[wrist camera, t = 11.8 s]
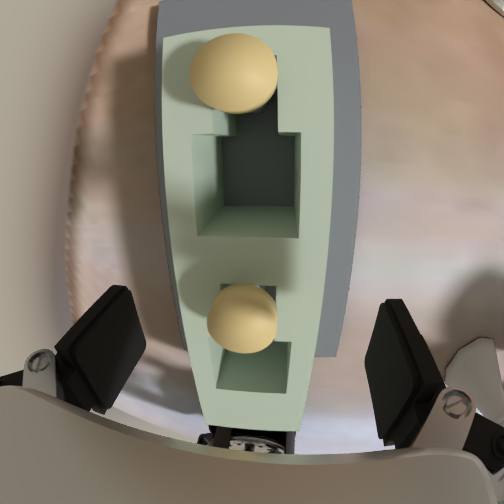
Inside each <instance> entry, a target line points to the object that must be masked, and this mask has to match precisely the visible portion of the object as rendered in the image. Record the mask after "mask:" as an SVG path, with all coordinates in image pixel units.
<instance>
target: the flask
mask: <svg viewBox="0 0 504 504" xmlns="http://www.w3.org/2000/svg"><path fill="white" fill-rule="evenodd" d="M445 384H446V385H448V386H449V387H450V386H459V387H462V388H464V389H466V390H468V391H469V392H470V393H471V394H472V395H473V397H474V399H475V402H476V407H477V408H478V409H479V411H480V412H481V413H482V414H483V416H484V417H485V418H487V419H489V420H491V421H493V422H495V423H497V424H499V425H501V426H503V427H504V390H503V387H502V382H501V376H500V370H499V365H498V360H497V354H496V349H495V344H494V340H493V339H487V338H479V339H477V340H475V341H474V342H472V343H470V344H468V345H467V346H465V347H463V348H461V349H460V350H459V351H458V352H457V354H456V355H455V357H454V358H453V360H452V361H451V363H450V364H449V366H448V367H447V368H446V376H445Z"/></svg>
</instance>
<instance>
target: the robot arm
mask: <svg viewBox="0 0 504 504" xmlns="http://www.w3.org/2000/svg"><path fill="white" fill-rule="evenodd" d="M485 1H486V2H487V3H488V4H490V5H491V6H492V7H493V8H494V9H495V10H496V11H498V12H499V13H500V14H501V15H502V16H504V0H485ZM54 347H55V349H56V351H57V354H56V355H55V354H54V353H53V352H52V351H51V350H49V349H40V350H38V351H35V352H34V353H32V354H31V355H30V356H29V357H28V358H27V360H26V361H25V365H24V370H21V371H18V372H15V373H12V374H8V375H5V376H2V377H0V504H504V427H503V426H501V425H499V424H497V423H495V422H493V421H491V420H489V419H487V418H485V417H483V416H482V415H480V414H478V413H476V402H475V399H474V397H473V395H472V394H471V393H470V392H469V391H468V390H466V389H464V388H462V387H459V386H450V387H447V388H446V386H445V384H444V381H443V379H442V377H441V374H440V372H439V370H438V368H437V365H436V363H435V361H434V359H433V357H432V354H431V352H430V350H429V348H428V346H427V344H426V342H425V340H424V338H423V336H422V335H421V334H420V333H419V331H418V329H417V327H416V325H415V323H414V321H413V319H412V317H411V315H410V313H409V311H408V309H407V307H406V306H405V304H404V302H403V300H402V299H387V300H386V301H385V303H381V305H380V307H379V311H378V315H377V319H376V322H375V326H374V330H373V333H372V337H371V340H370V343H369V346H368V350H367V353H366V356H365V369H366V374H367V379H368V383H369V388H370V393H371V398H372V403H373V409H374V414H375V420H376V426H377V432H378V437H379V439H383V443H384V446H390V445H395V449H393V450H382V451H374V452H363V453H349V454H323V455H295V454H273V453H260V452H249V451H240V450H232V449H225V448H218V447H212V446H206V445H201V444H196V443H191V442H186V441H181V440H176V439H173V438H169V437H165V436H161V435H157V434H153V433H149V432H146V431H143V430H139V429H136V428H133V427H130V426H127V425H123V424H120V423H118V422H115V421H112V420H109V419H106V418H104V417H101V416H99V415H96V414H93V413H91V412H89V411H90V410H91V408H92V409H93V411H95V412H98V413H101V414H103V415H104V414H105V412H106V410H107V409H110V408H111V407H112V405H113V403H114V402H115V400H116V398H117V396H118V395H119V393H120V391H121V390H122V388H123V386H124V384H125V383H126V381H127V379H128V378H129V376H130V374H131V372H132V371H133V369H134V367H135V366H136V364H137V362H138V361H139V359H140V357H141V356H142V354H143V352H144V351H145V349H146V340H145V337H144V334H143V331H142V327H141V324H140V321H139V317H138V314H137V311H136V307H135V303H134V300H133V296H132V293H131V291H130V290H128V288H127V287H126V286H120V285H112V286H111V287H110V288H109V289H108V290H107V291H106V292H105V293H104V294H103V295H102V296H101V297H100V298H99V299H98V300H97V301H96V302H95V303H94V304H93V305H92V306H91V307H90V308H89V309H88V310H87V311H86V312H85V313H84V314H83V316H82V317H81V318H80V319H79V320H78V321H77V322H76V323H75V324H74V325H73V326H72V327H71V328H70V330H69V331H68V332H67V333H66V334H65V335H64V336H63V337H62V339H61V340H60V341H59V342H58V343H57V344H56V345H55V346H54Z"/></svg>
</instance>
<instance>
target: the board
mask: <svg viewBox="0 0 504 504" xmlns="http://www.w3.org/2000/svg"><path fill="white" fill-rule="evenodd" d="M261 25H293V26H313V27H325V28H330V38H331V52H332V69H333V95H334V159H333V187H332V206H331V221H330V234H329V246H328V257H327V267H326V276H325V285H324V293H323V301H322V309H321V316H320V323H319V330H318V336H317V343H316V349H315V355H314V357H336V354H337V350H338V345H339V340H340V335H341V330H342V325H343V320H344V315H345V309H346V303H347V297H348V291H349V285H350V278H351V271H352V263H353V256H354V247H355V238H356V229H357V218H358V206H359V191H360V172H361V89H360V71H359V58H358V47H357V37H356V29H355V21H354V14H353V7H352V1H351V0H163V1H159V8H158V19H157V33H156V54H155V128H156V150H157V166H158V179H159V191H160V202H161V211H162V221H163V229H164V237H165V245H166V252H167V259H168V266H169V272H170V279H171V285H172V291H173V296H174V302H175V307H176V313H177V318H178V323H179V328H180V333H181V338H182V342H183V347H184V349H186V350H188V347H187V342H186V337H185V332H184V326H183V321H182V315H181V309H180V303H179V297H178V291H177V285H176V278H175V271H174V264H173V256H172V248H171V240H170V231H169V222H168V212H167V201H166V189H165V175H164V158H163V136H162V56H163V38H165V37H169V36H174V35H179V34H185V33H190V32H197V31H203V30H211V29H219V28H229V27H241V26H261ZM189 78H190V84H191V87H192V89H193V91H194V93H195V94H196V95H197V97H198V98H199V99H200V100H201V101H203V102H204V103H205V104H207V105H209V106H211V107H213V108H215V109H217V110H219V111H222V112H225V113H229V114H236V136H231V137H222V157H223V188H224V206H292V207H294V168H295V136H279V133H278V88H277V82H278V70H277V62H276V58H275V56H274V54H273V52H272V50H271V49H270V48H269V47H268V46H267V45H266V44H265V43H264V42H263V41H261V40H260V39H258V38H256V37H254V36H251V35H248V34H243V33H230V34H224V35H221V36H218V37H215V38H213V39H212V40H210V41H208V42H207V43H205V44H204V45H203V46H202V47H201V48H200V49H199V50H198V52H197V53H196V54H195V56H194V58H193V60H192V62H191V65H190V71H189ZM277 314H278V313H277V306H276V286H265V285H250V284H234V285H231V286H228V287H226V288H224V289H223V290H221V291H220V292H219V293H218V294H217V296H216V298H215V300H214V302H213V304H212V307H211V309H210V311H209V314H208V317H207V329H208V331H209V334H210V335H211V337H212V338H213V340H214V341H215V342H216V343H218V344H219V345H220V346H222V347H223V348H225V349H227V350H229V351H232V352H236V353H254V352H258V351H260V350H263V349H264V348H266V347H267V346H269V345H270V344H271V343H272V341H273V340H274V338H275V335H276V331H277Z"/></svg>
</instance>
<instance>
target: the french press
mask: <svg viewBox="0 0 504 504" xmlns="http://www.w3.org/2000/svg"><path fill="white" fill-rule="evenodd" d="M209 430H210V432H211V433H206V434H201V435H200V436H199V438H198V442H197V444H201V445H206V446H212V447H218V448H225V449H232V450H240V451H249V452H260V453H273V454H294V443H295V435H296V431H269V430H253V429H241V428H231V427H222V426H215V425H209Z"/></svg>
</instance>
